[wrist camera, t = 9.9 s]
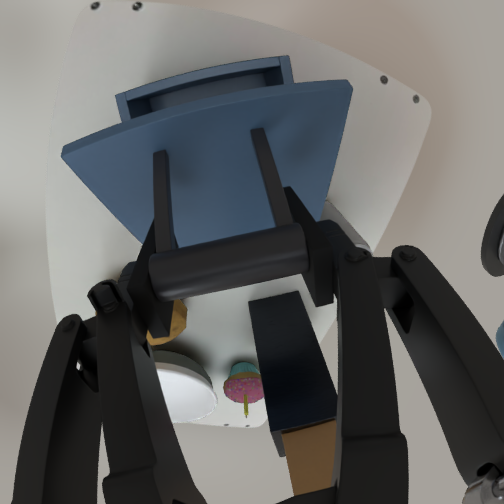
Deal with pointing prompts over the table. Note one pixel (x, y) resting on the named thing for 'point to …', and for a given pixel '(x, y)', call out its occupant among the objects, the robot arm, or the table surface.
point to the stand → (291, 367)
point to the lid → (219, 181)
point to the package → (311, 457)
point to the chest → (204, 85)
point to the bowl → (184, 387)
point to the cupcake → (244, 385)
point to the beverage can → (343, 225)
